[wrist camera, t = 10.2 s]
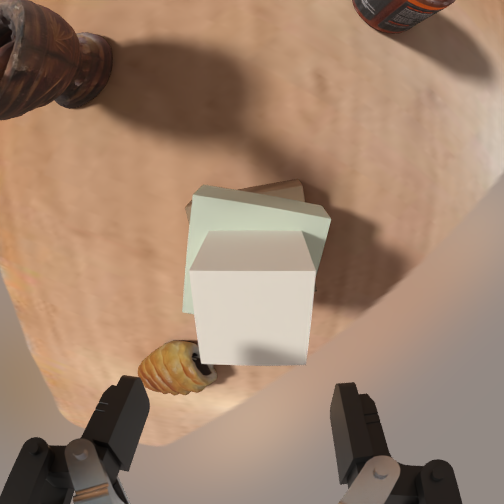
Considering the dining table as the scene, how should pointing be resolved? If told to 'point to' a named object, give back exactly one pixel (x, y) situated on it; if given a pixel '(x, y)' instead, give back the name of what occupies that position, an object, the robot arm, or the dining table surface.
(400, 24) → the supplement bottle
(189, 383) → the pastry
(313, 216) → the upper block
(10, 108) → the mortar and pestle
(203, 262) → the cream block
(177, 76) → the dining table surface
